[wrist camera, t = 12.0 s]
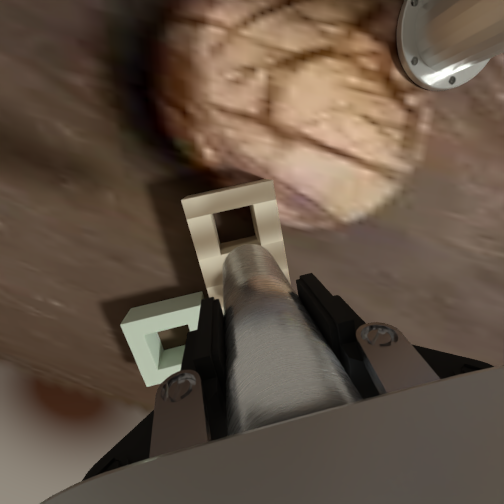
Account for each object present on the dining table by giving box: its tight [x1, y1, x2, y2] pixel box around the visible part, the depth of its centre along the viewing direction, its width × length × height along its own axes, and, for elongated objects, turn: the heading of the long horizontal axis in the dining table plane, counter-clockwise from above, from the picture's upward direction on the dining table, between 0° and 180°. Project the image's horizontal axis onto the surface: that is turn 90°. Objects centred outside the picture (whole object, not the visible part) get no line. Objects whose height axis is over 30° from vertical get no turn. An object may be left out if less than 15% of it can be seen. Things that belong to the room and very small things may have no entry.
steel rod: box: [222, 244, 363, 436], centre depth 11 cm, size 4×4×12 cm
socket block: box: [181, 179, 291, 315], centre depth 32 cm, size 16×10×5 cm, turn 12°
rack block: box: [120, 291, 204, 387], centre depth 35 cm, size 10×10×4 cm
